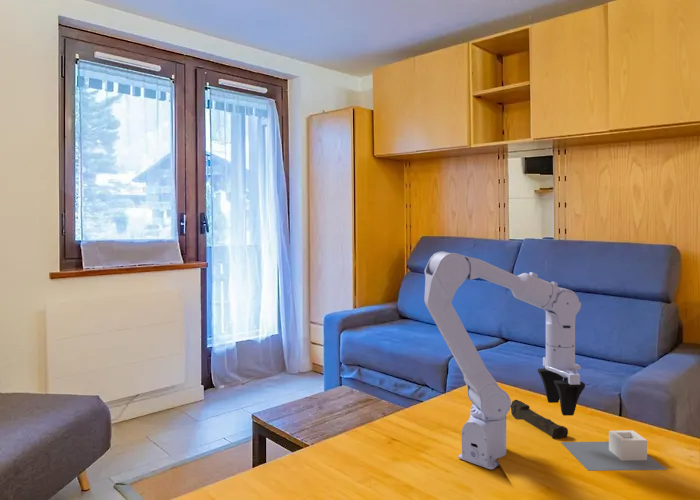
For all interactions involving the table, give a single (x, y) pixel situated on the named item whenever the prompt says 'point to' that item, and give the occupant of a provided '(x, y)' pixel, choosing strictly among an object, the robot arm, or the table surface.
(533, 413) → the hand tool
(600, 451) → the plate
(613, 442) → the hollow square block
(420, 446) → the table surface
